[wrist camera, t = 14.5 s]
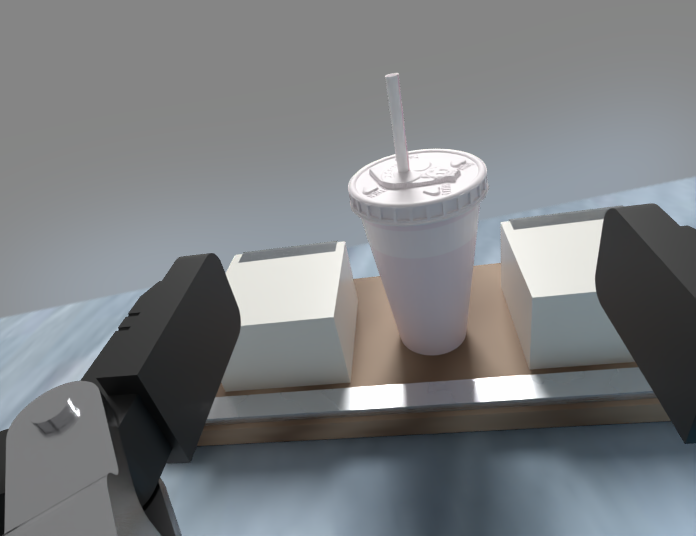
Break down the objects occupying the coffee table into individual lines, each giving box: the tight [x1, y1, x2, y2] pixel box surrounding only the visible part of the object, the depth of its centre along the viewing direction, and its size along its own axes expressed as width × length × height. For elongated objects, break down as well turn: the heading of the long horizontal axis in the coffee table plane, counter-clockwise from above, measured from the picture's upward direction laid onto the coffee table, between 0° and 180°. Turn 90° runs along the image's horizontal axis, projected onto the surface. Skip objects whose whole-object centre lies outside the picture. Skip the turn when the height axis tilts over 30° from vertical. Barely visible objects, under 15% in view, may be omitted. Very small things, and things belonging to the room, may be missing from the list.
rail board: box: [197, 206, 671, 446], centre depth 26 cm, size 28×12×6 cm, turn 86°
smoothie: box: [348, 73, 489, 355], centre depth 22 cm, size 6×6×14 cm
